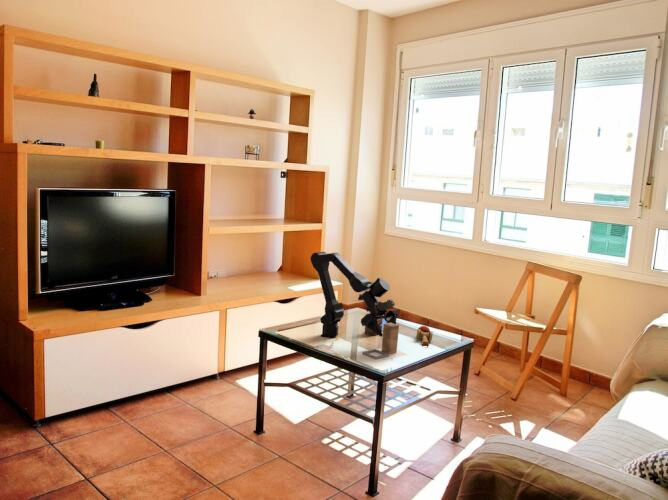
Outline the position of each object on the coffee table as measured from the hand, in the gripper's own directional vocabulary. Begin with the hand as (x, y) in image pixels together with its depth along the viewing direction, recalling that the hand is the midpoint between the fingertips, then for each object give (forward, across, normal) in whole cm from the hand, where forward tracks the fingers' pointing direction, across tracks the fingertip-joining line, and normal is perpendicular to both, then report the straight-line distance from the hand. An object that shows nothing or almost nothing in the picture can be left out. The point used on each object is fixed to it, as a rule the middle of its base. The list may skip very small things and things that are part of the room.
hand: (389, 334), depth 241 cm
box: (-12, +16, +24) cm, 31 cm away
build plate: (+6, -4, +6) cm, 9 cm away
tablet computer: (-17, +30, +30) cm, 46 cm away
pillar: (+6, 0, +5) cm, 8 cm away
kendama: (+3, +29, +9) cm, 31 cm away
